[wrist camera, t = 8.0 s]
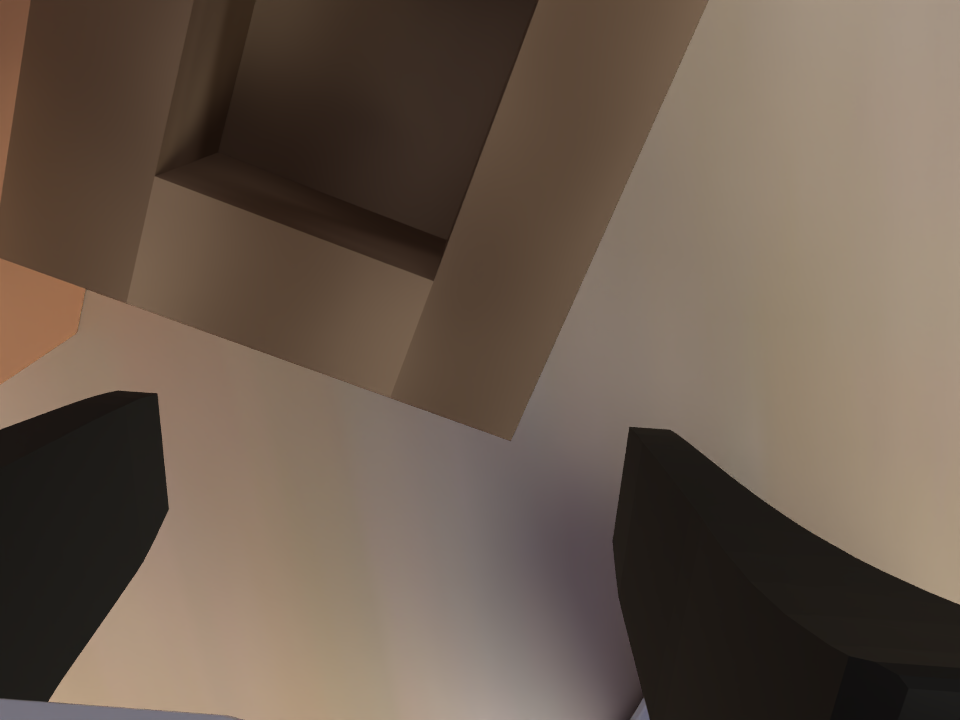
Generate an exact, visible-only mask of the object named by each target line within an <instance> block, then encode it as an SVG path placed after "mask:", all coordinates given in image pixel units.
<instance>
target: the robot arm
mask: <svg viewBox="0 0 960 720" xmlns="http://www.w3.org/2000/svg"><path fill="white" fill-rule="evenodd" d="M168 510H169V506H168V496H167V486H166V476H165V466H164V456H163V445H162V435H161V425H160V415H159V405H158V395H157V393H143V392H129V391H114V392H109V393H104V394H101V395H97V396H94V397H90V398H87V399H84V400H81V401H78V402H75V403H72V404H69V405H67V406H64V407H61V408H58V409H55V410H53V411H50V412H47V413H44V414H42V415H39V416H36V417H34V418H31V419H28V420H25V421H23V422H20V423H17V424H14V425H12V426H9V427H6V428H4V429H1V430H0V720H243V719H239V718H236V717H232V716H228V715H216V714H202V713H189V712H175V711H162V710H149V709H135V708H122V707H108V706H95V705H82V704H68V703H55V702H48V701H49V699H50V698H51V696H52V694H53V693H54V691H55V690H56V688H57V686H58V685H59V683H60V682H61V680H62V679H63V677H64V676H65V674H66V673H67V672H68V670H69V669H70V667H71V666H72V664H73V663H74V662H75V660H76V659H77V657H78V656H79V654H80V653H81V652H82V650H83V649H84V647H85V646H86V644H87V643H88V642H89V640H90V639H91V637H92V636H93V634H94V633H95V632H96V630H97V629H98V627H99V626H100V624H101V623H102V622H103V620H104V619H105V617H106V616H107V614H108V613H109V612H110V610H111V609H112V607H113V606H114V604H115V603H116V601H117V600H118V599H119V597H120V596H121V594H122V593H123V591H124V590H125V588H126V587H127V585H128V584H129V582H130V581H131V580H132V578H133V577H134V575H135V574H136V572H137V571H138V569H139V568H140V566H141V564H142V563H143V561H144V559H145V557H146V555H147V553H148V552H149V550H150V548H151V546H152V544H153V542H154V540H155V538H156V536H157V533H158V531H159V529H160V527H161V525H162V523H163V520H164V518H165V516H166V514H167V512H168ZM613 550H614V560H615V570H616V579H617V587H618V596H619V600H620V605H621V609H622V613H623V617H624V621H625V625H626V629H627V633H628V637H629V641H630V645H631V649H632V653H633V656H634V660H635V664H636V668H637V672H638V676H639V680H640V684H641V688H642V691H643V695H644V698H643V699H642V701H641V703H640V704H639V706H638V708H637V709H636V711H635V713H634V714H633V716H632V718H631V719H630V720H960V605H959V604H956V603H954V602H951V601H949V600H947V599H944V598H942V597H939V596H937V595H934V594H932V593H929V592H927V591H925V590H923V589H920V588H918V587H916V586H914V585H912V584H909V583H907V582H905V581H903V580H901V579H898V578H896V577H894V576H892V575H890V574H888V573H885V572H883V571H881V570H879V569H877V568H875V567H873V566H871V565H869V564H867V563H865V562H863V561H861V560H859V559H857V558H855V557H853V556H852V555H850V554H848V553H846V552H845V551H843V550H841V549H839V548H837V547H836V546H834V545H832V544H830V543H829V542H827V541H825V540H823V539H821V538H820V537H818V536H816V535H814V534H813V533H811V532H810V531H808V530H806V529H805V528H803V527H801V526H800V525H798V524H797V523H795V522H794V521H792V520H791V519H789V518H788V517H786V516H785V515H783V514H782V513H780V512H779V511H777V510H776V509H775V508H773V507H772V506H770V505H769V504H767V503H766V502H764V501H763V500H762V499H760V498H759V497H757V496H756V495H755V494H753V493H752V492H751V491H749V490H748V489H747V488H745V487H744V486H743V485H741V484H740V483H739V482H737V481H736V480H735V479H733V478H732V477H731V476H730V475H728V474H727V473H726V472H724V471H723V470H722V469H721V468H719V467H718V466H717V465H716V464H714V463H713V462H712V461H711V460H709V459H708V458H707V457H706V456H704V455H703V454H702V453H701V452H699V451H698V450H697V449H696V448H694V447H693V446H692V445H691V444H689V443H688V442H687V441H686V440H684V439H683V438H682V437H680V436H679V435H677V434H676V433H674V432H673V431H671V430H665V429H651V428H637V427H629V433H628V440H627V447H626V454H625V461H624V467H623V474H622V481H621V488H620V495H619V501H618V508H617V515H616V522H615V529H614V535H613Z"/></svg>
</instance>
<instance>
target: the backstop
mask: <svg viewBox="0 0 960 720" xmlns="http://www.w3.org/2000/svg"><path fill="white" fill-rule="evenodd" d="M30 1H31V0H0V201H1V194H2V188H3V181H4V174H5V168H6V161H7V154H8V148H9V141H10V134H11V128H12V121H13V114H14V108H15V101H16V94H17V88H18V81H19V75H20V68H21V61H22V55H23V48H24V41H25V35H26V28H27V21H28V15H29V8H30ZM85 290H86V289H85V288H82V287H79V286H76V285H73V284H71V283H68V282H65V281H62V280H60V279H57V278H54V277H51V276H48V275H46V274H43V273H40V272H37V271H34V270H32V269H29V268H26V267H23V266H20V265H18V264H15V263H12V262H9V261H6V260H4V259H1V258H0V384H2V383H3V382H5V381H6V380H8V379H9V378H11V377H12V376H14V375H15V374H17V373H18V372H20V371H21V370H23V369H24V368H26V367H27V366H29V365H30V364H32V363H33V362H35V361H36V360H38V359H39V358H41V357H42V356H44V355H45V354H47V353H48V352H50V351H51V350H53V349H54V348H56V347H57V346H58V345H60V344H61V343H63V342H64V341H66V340H67V339H69V338H70V337H72V336H73V335H75V334H76V333H77V330H78V325H79V320H80V315H81V310H82V305H83V300H84V295H85Z"/></svg>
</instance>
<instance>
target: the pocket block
mask: <svg viewBox="0 0 960 720" xmlns="http://www.w3.org/2000/svg"><path fill="white" fill-rule="evenodd" d="M707 3H708V0H31V1H30V8H29V15H28V21H27V28H26V35H25V41H24V48H23V55H22V61H21V68H20V75H19V81H18V88H17V94H16V101H15V108H14V114H13V121H12V128H11V134H10V141H9V148H8V154H7V161H6V168H5V174H4V181H3V188H2V194H1V201H0V258H1V259H4V260H6V261H9V262H12V263H15V264H18V265H20V266H23V267H26V268H29V269H32V270H34V271H37V272H40V273H43V274H46V275H48V276H51V277H54V278H57V279H60V280H62V281H65V282H68V283H71V284H73V285H76V286H79V287H82V288H85V289H87V290H90V291H93V292H96V293H99V294H101V295H104V296H107V297H110V298H113V299H115V300H118V301H121V302H124V303H127V304H129V305H132V306H135V307H138V308H140V309H143V310H146V311H149V312H152V313H154V314H157V315H160V316H163V317H166V318H168V319H171V320H174V321H177V322H180V323H182V324H185V325H188V326H191V327H194V328H196V329H199V330H202V331H205V332H208V333H210V334H213V335H216V336H219V337H221V338H224V339H227V340H230V341H233V342H235V343H238V344H241V345H244V346H247V347H249V348H252V349H255V350H258V351H261V352H263V353H266V354H269V355H272V356H275V357H277V358H280V359H283V360H286V361H288V362H291V363H294V364H297V365H300V366H302V367H305V368H308V369H311V370H314V371H316V372H319V373H322V374H325V375H328V376H330V377H333V378H336V379H339V380H342V381H344V382H347V383H350V384H353V385H356V386H358V387H361V388H364V389H367V390H369V391H372V392H375V393H378V394H381V395H383V396H386V397H389V398H392V399H395V400H397V401H400V402H403V403H406V404H409V405H411V406H414V407H417V408H420V409H423V410H425V411H428V412H431V413H434V414H436V415H439V416H442V417H445V418H448V419H450V420H453V421H456V422H459V423H462V424H464V425H467V426H470V427H473V428H476V429H478V430H481V431H484V432H487V433H490V434H492V435H495V436H498V437H501V438H504V439H506V440H509V441H511V439H512V437H513V435H514V433H515V430H516V428H517V426H518V424H519V421H520V419H521V417H522V415H523V413H524V410H525V408H526V406H527V404H528V401H529V399H530V397H531V395H532V392H533V390H534V388H535V386H536V384H537V381H538V379H539V377H540V375H541V372H542V370H543V368H544V366H545V364H546V361H547V359H548V357H549V355H550V352H551V350H552V348H553V346H554V343H555V341H556V339H557V337H558V335H559V332H560V330H561V328H562V326H563V323H564V321H565V319H566V317H567V315H568V312H569V310H570V308H571V306H572V303H573V301H574V299H575V297H576V294H577V292H578V290H579V288H580V286H581V283H582V281H583V279H584V277H585V274H586V272H587V270H588V268H589V266H590V263H591V261H592V259H593V257H594V254H595V252H596V250H597V248H598V245H599V243H600V241H601V239H602V237H603V234H604V232H605V230H606V228H607V225H608V223H609V221H610V219H611V217H612V214H613V212H614V210H615V208H616V205H617V203H618V201H619V199H620V196H621V194H622V192H623V190H624V188H625V185H626V183H627V181H628V179H629V176H630V174H631V172H632V170H633V168H634V165H635V163H636V161H637V159H638V156H639V154H640V152H641V150H642V147H643V145H644V143H645V141H646V139H647V136H648V134H649V132H650V130H651V127H652V125H653V123H654V121H655V118H656V116H657V114H658V112H659V110H660V107H661V105H662V103H663V101H664V98H665V96H666V94H667V92H668V90H669V87H670V85H671V83H672V81H673V78H674V76H675V74H676V72H677V69H678V67H679V65H680V63H681V61H682V58H683V56H684V54H685V52H686V49H687V47H688V45H689V43H690V41H691V38H692V36H693V34H694V32H695V29H696V27H697V25H698V23H699V20H700V18H701V16H702V14H703V12H704V9H705V7H706V5H707Z"/></svg>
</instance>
